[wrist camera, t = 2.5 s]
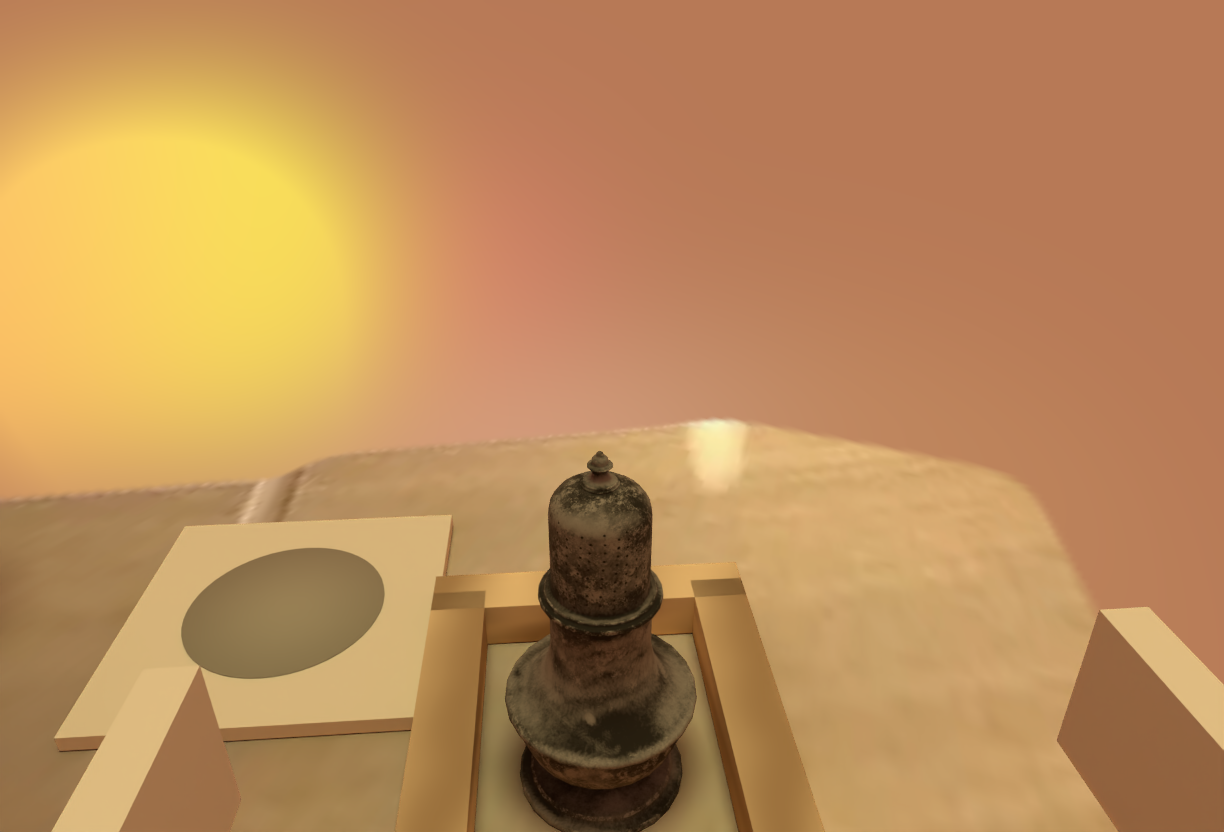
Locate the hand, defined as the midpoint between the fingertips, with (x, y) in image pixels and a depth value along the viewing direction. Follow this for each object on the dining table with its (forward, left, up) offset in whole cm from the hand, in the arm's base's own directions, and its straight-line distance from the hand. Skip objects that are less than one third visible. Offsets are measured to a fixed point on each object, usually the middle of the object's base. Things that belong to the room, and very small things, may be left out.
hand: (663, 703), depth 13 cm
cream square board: (-12, +18, -13) cm, 26 cm away
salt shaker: (0, +10, -14) cm, 17 cm away
